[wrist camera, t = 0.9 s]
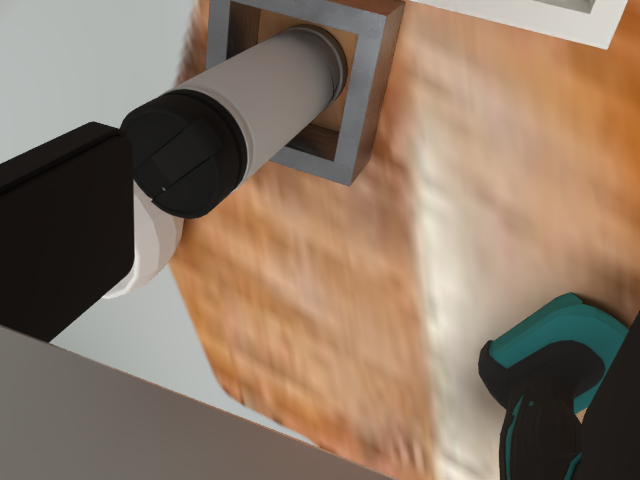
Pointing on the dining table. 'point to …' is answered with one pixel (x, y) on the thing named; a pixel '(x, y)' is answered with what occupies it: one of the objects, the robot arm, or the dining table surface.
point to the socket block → (365, 82)
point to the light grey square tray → (547, 16)
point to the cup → (149, 243)
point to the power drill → (548, 385)
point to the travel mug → (232, 119)
